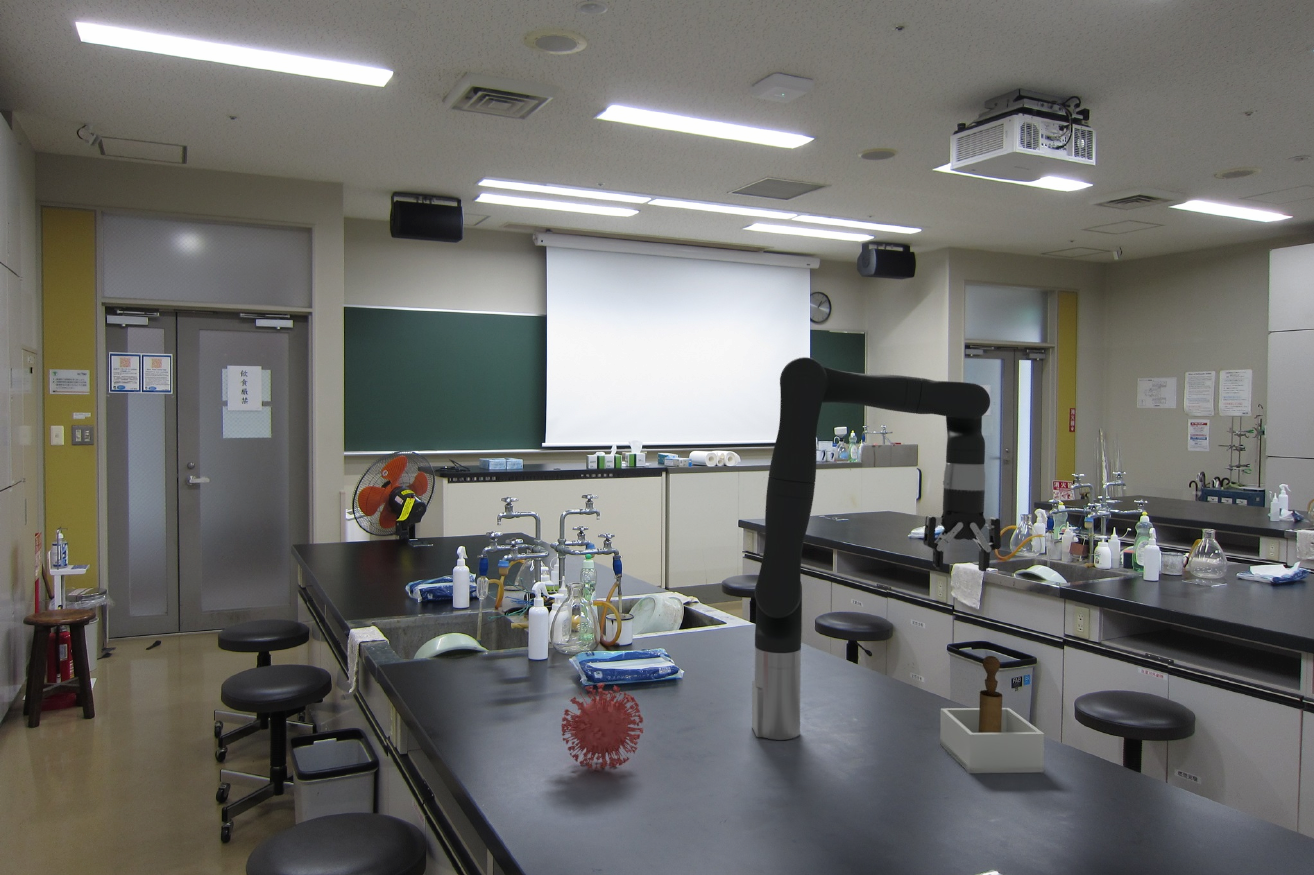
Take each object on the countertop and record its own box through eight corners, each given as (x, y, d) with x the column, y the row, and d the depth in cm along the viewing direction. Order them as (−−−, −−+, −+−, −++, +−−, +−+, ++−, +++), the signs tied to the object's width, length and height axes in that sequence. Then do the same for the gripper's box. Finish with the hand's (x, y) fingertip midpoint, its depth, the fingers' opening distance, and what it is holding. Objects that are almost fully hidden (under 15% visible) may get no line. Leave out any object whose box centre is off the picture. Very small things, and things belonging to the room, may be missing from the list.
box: (969, 773, 152) (969, 734, 152) (940, 744, 166) (940, 708, 166) (1043, 772, 153) (1044, 733, 153) (1008, 743, 166) (1008, 708, 166)
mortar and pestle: (1011, 760, 155) (1013, 662, 155) (974, 757, 157) (976, 660, 156) (1004, 747, 162) (1006, 653, 162) (968, 744, 163) (970, 650, 163)
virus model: (653, 757, 158) (654, 677, 158) (624, 790, 144) (625, 703, 144) (581, 746, 163) (581, 669, 163) (546, 777, 149) (546, 693, 149)
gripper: (934, 487, 160) (931, 573, 161) (1009, 489, 161) (1005, 575, 161) (921, 484, 168) (917, 566, 168) (992, 486, 168) (988, 567, 169)
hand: (960, 570), depth 165 cm, fingers open, 8 cm apart
